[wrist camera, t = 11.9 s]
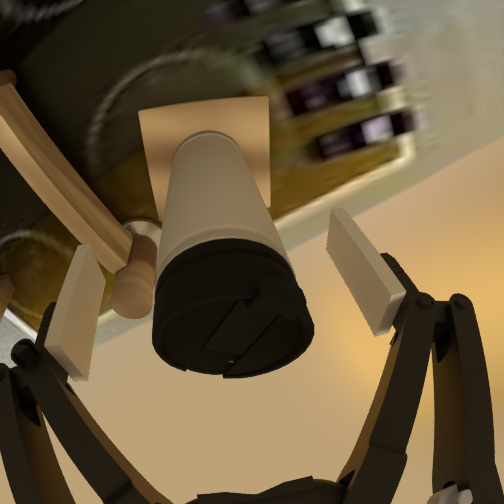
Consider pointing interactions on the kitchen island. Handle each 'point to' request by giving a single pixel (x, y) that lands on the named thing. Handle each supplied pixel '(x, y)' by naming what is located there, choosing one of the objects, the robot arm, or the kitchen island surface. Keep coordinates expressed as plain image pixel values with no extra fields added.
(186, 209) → the travel mug
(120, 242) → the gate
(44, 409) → the robot arm
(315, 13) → the kitchen island surface
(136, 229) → the hinge base
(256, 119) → the coaster
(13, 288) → the post
